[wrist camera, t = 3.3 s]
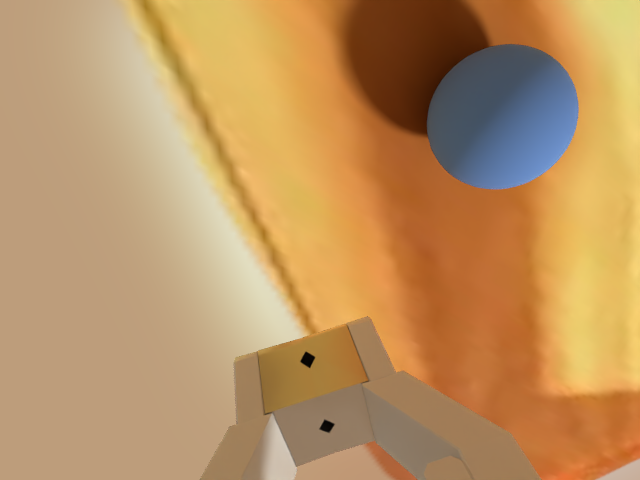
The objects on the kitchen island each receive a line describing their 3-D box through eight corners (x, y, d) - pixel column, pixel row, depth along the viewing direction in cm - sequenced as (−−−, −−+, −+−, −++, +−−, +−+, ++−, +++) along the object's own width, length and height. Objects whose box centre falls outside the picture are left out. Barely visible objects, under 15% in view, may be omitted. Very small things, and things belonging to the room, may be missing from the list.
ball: (400, 54, 18) (466, 80, 13) (524, 21, 18) (630, 36, 13) (411, 174, 21) (468, 229, 16) (517, 143, 21) (601, 190, 16)
